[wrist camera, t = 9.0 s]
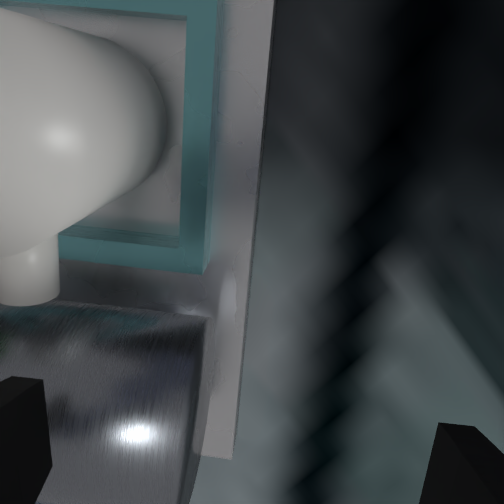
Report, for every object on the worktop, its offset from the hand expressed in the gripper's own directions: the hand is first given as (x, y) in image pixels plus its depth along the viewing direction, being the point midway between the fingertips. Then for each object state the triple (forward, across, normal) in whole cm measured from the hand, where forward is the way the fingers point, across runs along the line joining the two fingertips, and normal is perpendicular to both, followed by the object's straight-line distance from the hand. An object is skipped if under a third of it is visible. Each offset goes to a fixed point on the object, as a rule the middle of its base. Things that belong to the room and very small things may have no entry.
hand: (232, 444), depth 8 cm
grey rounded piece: (+8, +6, -5) cm, 11 cm away
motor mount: (+9, +6, -1) cm, 11 cm away
